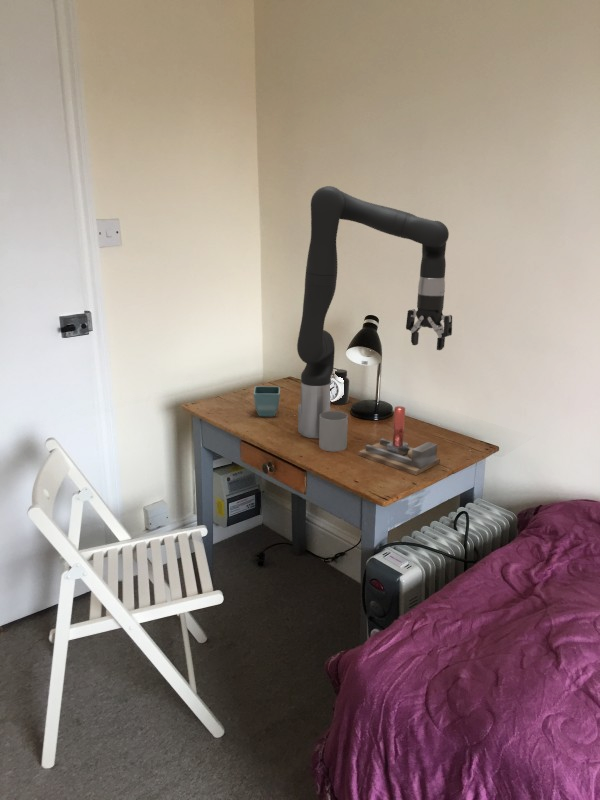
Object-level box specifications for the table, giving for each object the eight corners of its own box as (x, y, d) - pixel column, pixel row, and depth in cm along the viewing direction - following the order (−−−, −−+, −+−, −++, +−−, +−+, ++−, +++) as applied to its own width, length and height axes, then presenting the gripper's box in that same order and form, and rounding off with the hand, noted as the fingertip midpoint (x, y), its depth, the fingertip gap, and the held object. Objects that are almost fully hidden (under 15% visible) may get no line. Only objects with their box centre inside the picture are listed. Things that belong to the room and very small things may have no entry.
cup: (330, 439, 204) (331, 409, 201) (351, 445, 199) (353, 414, 196) (313, 447, 198) (314, 416, 194) (335, 453, 193) (336, 422, 190)
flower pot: (279, 410, 229) (279, 386, 227) (279, 418, 221) (279, 393, 218) (255, 410, 229) (254, 386, 226) (254, 418, 221) (253, 393, 218)
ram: (386, 454, 189) (388, 408, 184) (396, 449, 192) (399, 404, 188) (397, 457, 186) (400, 411, 182) (407, 453, 190) (410, 407, 185)
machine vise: (358, 455, 192) (359, 435, 190) (383, 444, 200) (384, 425, 198) (415, 475, 179) (417, 454, 177) (439, 462, 187) (441, 442, 185)
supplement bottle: (336, 406, 234) (337, 374, 230) (326, 401, 240) (326, 369, 236) (352, 403, 238) (353, 371, 234) (341, 398, 243) (342, 367, 239)
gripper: (403, 291, 190) (400, 345, 195) (445, 297, 181) (441, 353, 186) (417, 288, 195) (414, 341, 200) (459, 294, 186) (454, 349, 191)
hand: (427, 347), depth 193 cm, fingers open, 8 cm apart
